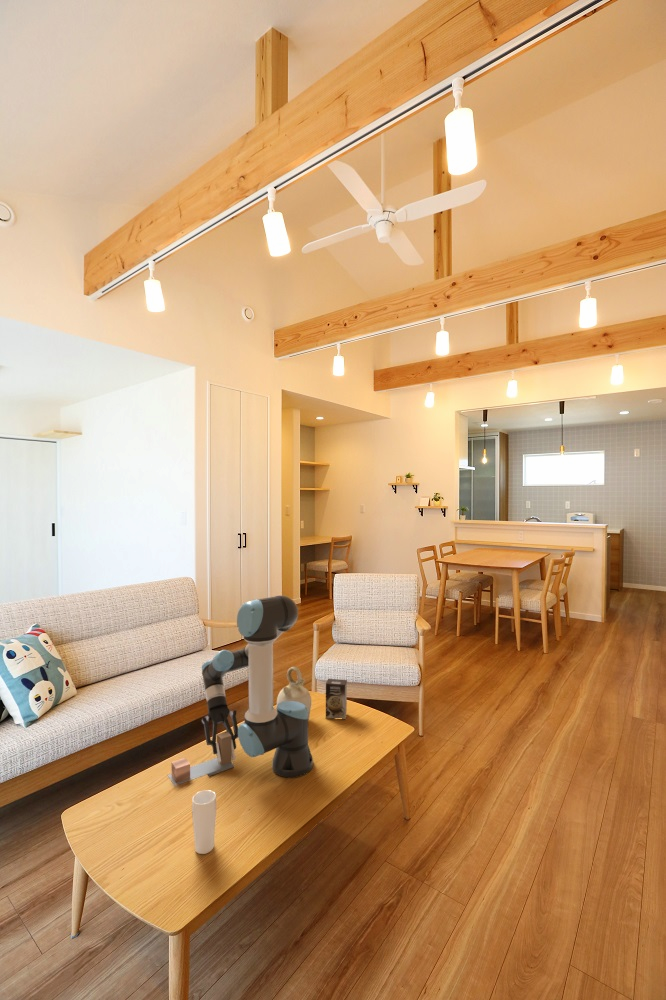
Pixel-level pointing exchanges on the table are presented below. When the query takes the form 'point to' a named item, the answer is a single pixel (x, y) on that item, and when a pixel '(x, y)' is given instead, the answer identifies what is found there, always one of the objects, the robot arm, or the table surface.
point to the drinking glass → (204, 820)
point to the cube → (180, 769)
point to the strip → (212, 761)
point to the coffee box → (336, 698)
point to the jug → (295, 690)
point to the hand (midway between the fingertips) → (226, 760)
